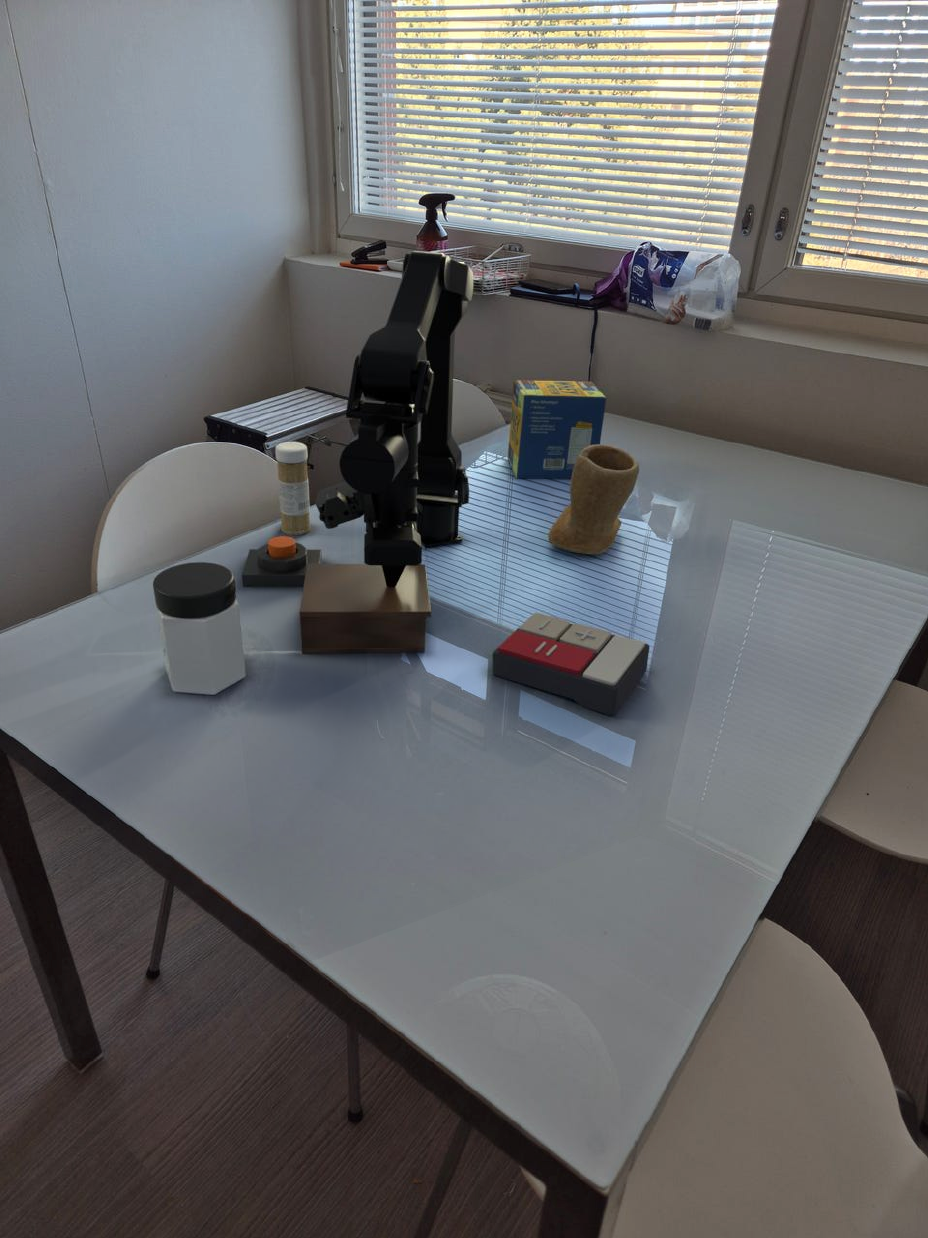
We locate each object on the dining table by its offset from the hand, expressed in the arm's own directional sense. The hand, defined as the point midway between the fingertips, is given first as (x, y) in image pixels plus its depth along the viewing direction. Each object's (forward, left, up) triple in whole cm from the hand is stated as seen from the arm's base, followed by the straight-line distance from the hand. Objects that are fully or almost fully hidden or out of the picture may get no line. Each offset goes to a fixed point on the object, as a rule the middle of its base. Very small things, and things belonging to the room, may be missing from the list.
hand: (391, 585), depth 99 cm
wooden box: (+3, -1, -6) cm, 7 cm away
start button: (+8, -19, -3) cm, 21 cm away
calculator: (-15, +18, -6) cm, 24 cm away
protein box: (-51, -42, -6) cm, 66 cm away
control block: (+8, -19, -6) cm, 21 cm away
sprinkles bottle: (+2, -32, -6) cm, 33 cm away
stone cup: (-39, -12, -6) cm, 41 cm away
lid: (+3, -1, -1) cm, 3 cm away
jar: (+23, +2, -6) cm, 24 cm away
